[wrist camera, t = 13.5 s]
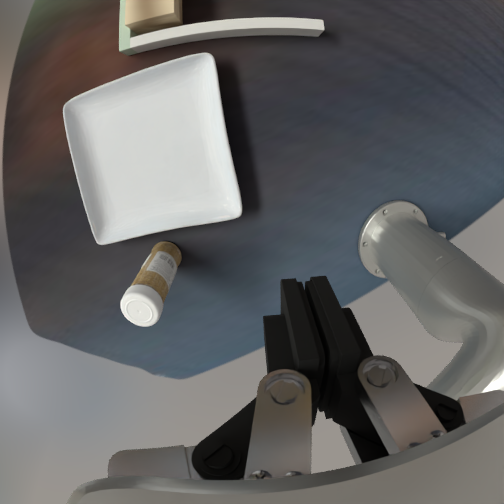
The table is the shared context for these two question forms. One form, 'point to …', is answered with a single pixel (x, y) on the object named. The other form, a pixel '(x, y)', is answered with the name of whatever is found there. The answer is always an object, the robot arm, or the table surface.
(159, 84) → the salad plate
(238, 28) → the pastel wall shelf
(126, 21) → the block
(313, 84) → the table surface
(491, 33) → the table surface
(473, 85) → the table surface
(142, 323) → the sprinkles bottle
